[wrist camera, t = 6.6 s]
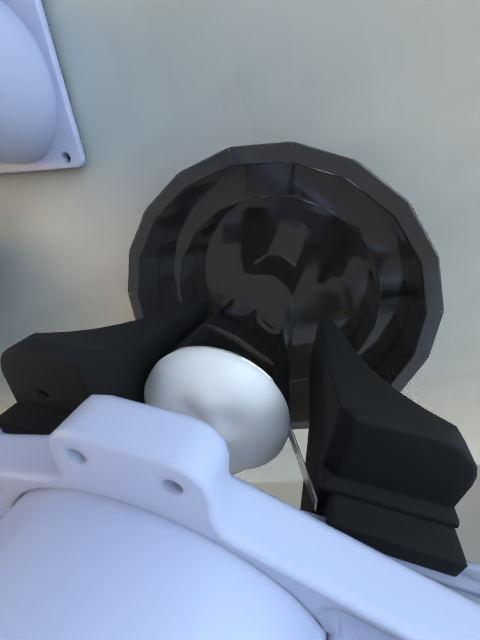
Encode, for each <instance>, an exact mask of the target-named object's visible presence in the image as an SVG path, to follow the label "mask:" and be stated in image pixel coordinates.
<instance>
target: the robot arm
mask: <svg viewBox="0 0 480 640" xmlns="http://www.w3.org/2000/svg"><path fill="white" fill-rule="evenodd" d="M68 155H69V156H70V161H69V159H68ZM85 162H86V159H85V154H84V151H83V147H82V144H81V140H80V137H79V133H78V129H77V126H76V122H75V119H74V115H73V112H72V108H71V105H70V101H69V98H68V94H67V91H66V87H65V84H64V80H63V76H62V73H61V69H60V66H59V62H58V59H57V55H56V52H55V48H54V45H53V41H52V38H51V34H50V31H49V27H48V23H47V20H46V16H45V13H44V9H43V6H42V2H41V0H0V174H5V173H17V172H30V171H42V170H55V169H67V168H79V167H83V166H84V165H85ZM208 315H209V300H206V299H200V298H195V299H191V300H188V301H186V302H183V303H181V304H178V305H176V306H174V307H171V308H169V309H166V310H164V311H161V312H158V313H155V314H153V315H150V316H147V317H144V318H141V319H138V320H134V321H130V322H127V323H123V324H118V325H113V326H108V327H103V328H97V329H90V330H81V331H72V332H55V333H34V334H32V335H30V336H29V337H27V338H25V339H23V340H22V341H20V342H18V343H17V344H15V345H13V346H11V347H10V348H8V349H7V350H5V351H4V352H3V353H2V356H1V360H0V362H1V369H2V372H3V374H4V377H5V379H6V381H7V383H8V385H9V387H10V389H11V391H12V392H13V394H14V396H15V398H16V400H17V403H16V404H14V405H13V406H12V407H10V408H9V409H8V410H6V411H5V412H4V413H3V414H1V415H0V640H480V565H479V564H475V563H472V562H469V561H466V559H465V556H464V553H463V551H462V548H461V545H460V542H459V539H458V536H457V533H456V531H455V528H458V526H459V519H458V516H457V514H456V511H455V508H454V507H455V505H456V504H457V503H458V502H459V501H460V499H461V498H462V497H463V496H464V495H465V493H466V492H467V491H468V490H469V489H470V488H471V486H472V485H473V483H474V481H475V479H476V477H477V466H476V463H475V461H474V459H473V457H472V455H471V453H470V451H469V449H468V446H467V444H466V442H465V440H464V439H463V437H462V435H461V433H460V432H459V430H458V428H457V427H456V426H455V425H453V424H451V423H449V422H447V421H446V420H444V419H442V418H440V417H439V416H437V415H435V414H433V413H431V412H430V411H428V410H426V409H424V408H423V407H421V406H420V405H418V404H416V403H415V402H413V401H412V400H410V399H409V398H407V397H406V396H404V395H403V394H402V393H400V392H399V391H397V390H396V389H395V388H394V387H392V386H391V385H390V384H388V383H387V382H386V381H385V380H383V379H382V378H381V377H380V376H379V375H378V374H377V373H375V372H374V371H373V370H372V369H371V368H370V367H369V366H368V365H367V364H366V363H365V362H364V361H363V360H362V359H361V357H360V356H359V355H358V354H357V353H356V352H355V350H354V349H353V348H352V347H351V345H350V344H349V342H348V341H347V340H346V338H345V337H344V335H343V334H342V332H341V331H340V329H339V327H338V326H337V324H336V323H335V321H333V320H327V319H321V318H319V322H318V327H317V331H316V336H315V340H314V345H313V349H312V354H311V360H310V368H309V432H308V443H307V453H306V463H305V465H306V468H307V471H308V473H309V476H310V479H311V481H312V484H313V487H314V489H315V492H316V495H317V498H318V508H317V511H315V509H314V507H313V504H312V501H311V498H310V495H309V493H308V490H307V487H306V484H305V481H304V482H303V491H302V500H301V508H300V509H297V508H295V507H293V506H291V505H289V504H287V503H285V502H284V501H282V500H280V499H278V498H276V497H274V496H272V495H270V494H268V493H266V492H264V491H263V490H261V489H259V488H257V487H255V486H253V485H251V484H249V483H247V482H245V481H244V480H242V479H240V478H238V477H236V476H234V475H232V474H230V473H229V452H228V449H227V446H226V443H225V440H224V438H223V437H222V436H221V435H220V434H219V433H218V432H217V431H216V430H215V429H214V428H213V427H212V426H211V425H210V424H208V423H206V422H204V421H201V420H199V419H197V418H195V417H193V416H190V415H186V414H182V413H178V412H174V411H170V410H167V409H163V408H159V407H155V406H151V405H147V404H145V400H144V387H145V383H146V381H147V378H148V376H149V374H150V372H151V371H152V369H153V368H154V366H155V365H156V364H157V362H158V361H159V360H160V359H162V358H163V357H164V356H165V355H166V354H167V353H168V352H169V351H171V350H172V349H173V348H174V347H175V346H176V345H177V344H178V343H179V342H180V341H181V340H182V339H184V338H185V337H186V336H187V335H188V334H189V333H190V332H191V331H192V330H193V329H194V328H195V327H197V326H198V325H199V324H200V323H201V322H202V321H203V320H204V319H205V318H206V317H207V316H208Z"/></svg>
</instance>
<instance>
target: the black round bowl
mask: <svg viewBox="0 0 480 640" xmlns="http://www.w3.org/2000/svg"><path fill="white" fill-rule="evenodd" d="M253 274H267V275H274V276H276V277H277V278H278V279H280V280H281V281H282V282H284V283H285V284H286V285H288V286H289V288H290V291H291V294H292V298H293V301H294V305H295V306H294V324H293V341H292V356H291V393H290V425H291V428H292V429H307V428H309V368H310V360H311V354H312V349H313V345H314V340H315V336H316V331H317V327H318V322H319V318H321V319H327V320H333V321H335V323H336V324H337V326H338V327H339V329H340V331H341V332H342V334H343V335H344V337H345V338H346V340H347V341H348V342H349V344H350V345H351V347H352V348H353V349H354V350H355V352H356V353H357V354H358V355H359V356H360V357H361V359H362V360H363V361H364V362H365V363H366V364H367V365H368V366H369V367H370V368H371V369H372V370H373V371H374V372H375V373H377V374H378V375H379V376H380V377H381V378H382V379H383V380H385V381H386V382H387V383H388V384H390V385H391V386H392V387H394V388H395V389H396V390H397V391H399V392H401V390H402V389H403V388H404V387H405V386H406V384H407V383H408V382H409V381H410V379H411V378H412V377H413V376H414V375H415V373H416V372H417V371H418V370H419V369H420V367H421V366H422V365H423V364H424V362H425V361H426V360H427V358H428V357H429V354H430V351H431V348H432V345H433V342H434V339H435V336H436V333H437V330H438V327H439V324H440V321H441V318H442V315H443V310H444V307H443V295H442V284H441V273H440V261H439V257H438V253H437V251H436V249H435V248H434V246H433V244H432V242H431V240H430V239H429V237H428V235H427V233H426V231H425V229H424V228H423V226H422V224H421V222H420V220H419V219H418V217H417V215H416V213H415V211H414V209H413V208H412V206H411V204H410V203H409V201H408V200H406V199H405V198H404V197H403V196H401V195H400V194H399V193H398V192H396V191H395V190H394V189H393V188H391V187H390V186H389V185H387V184H386V183H385V182H384V181H382V180H381V179H380V178H379V177H377V176H376V175H375V174H374V173H372V172H371V171H370V170H368V169H367V168H366V167H365V166H363V165H362V164H361V163H360V162H358V161H356V160H353V159H350V158H347V157H343V156H340V155H337V154H333V153H330V152H326V151H323V150H320V149H316V148H313V147H309V146H306V145H303V144H299V143H296V142H281V143H269V144H258V145H247V146H236V147H230V148H226V149H224V150H222V151H220V152H218V153H216V154H214V155H212V156H211V157H209V158H207V159H205V160H203V161H201V162H199V163H197V164H195V165H193V166H191V167H189V168H187V169H185V170H183V171H181V172H180V173H178V174H177V175H176V176H175V177H174V178H173V179H172V180H171V182H170V183H169V184H168V185H167V186H166V187H165V188H164V189H163V191H162V192H161V193H160V194H159V195H158V196H157V197H156V198H155V200H154V201H153V202H152V203H151V204H150V205H149V206H148V207H147V209H146V210H145V211H144V214H143V217H142V219H141V222H140V225H139V227H138V230H137V233H136V235H135V238H134V240H133V243H132V246H131V248H130V253H129V280H128V292H129V298H130V301H131V305H132V309H133V312H134V316H135V319H136V320H138V319H141V318H144V317H147V316H150V315H153V314H155V313H158V312H161V311H164V310H166V309H169V308H171V307H174V306H176V305H178V304H181V303H183V302H186V301H188V300H191V299H195V298H200V299H206V300H209V314H210V313H211V312H212V311H213V310H214V309H215V308H216V307H217V306H218V305H219V304H220V303H221V302H222V301H223V300H224V299H225V298H226V297H227V296H228V295H229V294H230V293H231V292H232V290H233V289H234V288H235V287H236V286H237V285H238V284H240V283H241V282H243V281H244V280H246V279H247V278H249V277H250V276H252V275H253Z"/></svg>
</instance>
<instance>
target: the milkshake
mask: <svg viewBox="0 0 480 640" xmlns="http://www.w3.org/2000/svg"><path fill="white" fill-rule="evenodd" d="M294 306H295V305H294V301H293V298H292V294H291V291H290V288H289V286H288V285H286V284H285V283H284V282H282V281H281V280H280V279H278V278H277V277H276V276H274V275H267V274H253V275H252V276H250V277H249V278H247V279H246V280H244V281H243V282H241V283H240V284H238V285H237V286H236V287H235V288H234V289H233V290H232V292H231V293H230V294H229V295H228V296H227V297H226V298H225V299H224V300H223V301H222V302H221V303H220V304H219V305H218V306H217V307H216V308H215V309H214V310H213V311H212V312H211V313H210V314H209V315H208V316H207V317H206V318H205V319H204V320H203V321H202V322H201V323H200V324H199V325H198V326H197V327H195V328H194V329H193V330H192V331H191V332H190V333H189V334H188V335H187V336H186V337H185V338H184V339H182V340H181V341H180V342H179V343H178V344H177V345H176V346H175V347H174V348H173V349H172V350H171V351H169V352H168V353H167V354H166V355H165V356H164V357H163V358H162V359H160V360H159V361H158V362H157V364H156V365H155V366H154V368H153V369H152V371H151V372H150V374H149V376H148V378H147V381H146V383H145V387H144V400H145V404H147V405H151V406H155V407H159V408H163V409H167V410H170V411H174V412H178V413H182V414H186V415H190V416H193V417H195V418H197V419H199V420H201V421H204V422H206V423H208V424H210V425H211V426H212V427H213V428H214V429H215V430H216V431H217V432H218V433H219V434H220V435H221V436H222V437H223V438H224V440H225V443H226V446H227V449H228V452H229V473H230V474H232V475H233V474H236V473H238V472H241V471H243V470H246V469H251V468H255V467H259V466H261V465H264V464H266V463H268V462H269V461H271V460H272V459H273V458H275V457H276V456H277V455H278V454H279V452H280V451H281V450H282V448H283V447H284V445H285V443H286V440H287V437H288V436H289V439H290V442H291V444H292V447H293V450H294V453H295V456H296V459H297V461H298V464H299V467H300V470H301V473H302V476H303V478H304V481H305V484H306V487H307V490H308V493H309V495H310V498H311V501H312V504H313V507H314V509H315V511H317V508H318V498H317V495H316V492H315V489H314V487H313V484H312V481H311V479H310V476H309V473H308V471H307V468H306V465H305V463H304V460H303V457H302V455H301V452H300V449H299V447H298V444H297V441H296V439H295V436H294V433H293V431H292V428H291V425H290V393H291V356H292V341H293V324H294Z"/></svg>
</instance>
